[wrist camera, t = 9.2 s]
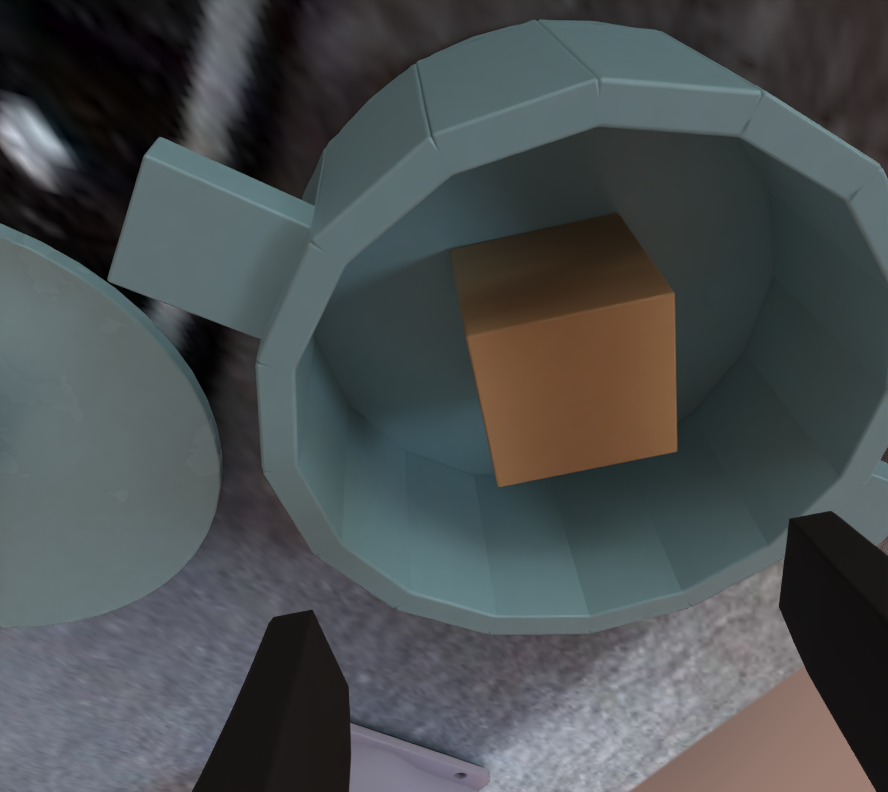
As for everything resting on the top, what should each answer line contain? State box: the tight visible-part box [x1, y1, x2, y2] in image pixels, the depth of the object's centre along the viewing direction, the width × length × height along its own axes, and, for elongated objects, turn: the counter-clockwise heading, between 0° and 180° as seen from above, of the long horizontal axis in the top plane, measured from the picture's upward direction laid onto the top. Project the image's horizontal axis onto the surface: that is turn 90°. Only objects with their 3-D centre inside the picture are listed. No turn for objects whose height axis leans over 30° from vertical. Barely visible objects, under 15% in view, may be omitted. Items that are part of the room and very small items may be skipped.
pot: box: [108, 20, 888, 635], centre depth 16 cm, size 13×18×5 cm
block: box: [449, 213, 677, 487], centre depth 17 cm, size 4×4×4 cm
